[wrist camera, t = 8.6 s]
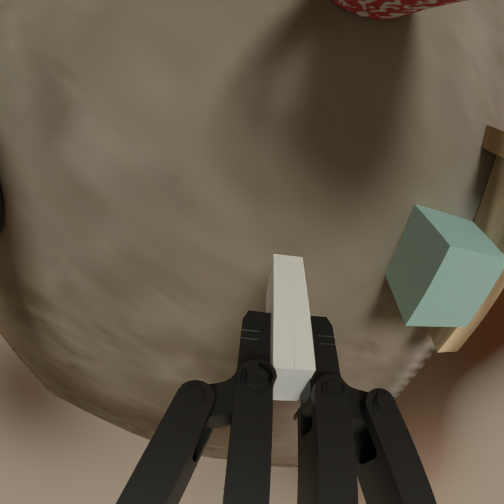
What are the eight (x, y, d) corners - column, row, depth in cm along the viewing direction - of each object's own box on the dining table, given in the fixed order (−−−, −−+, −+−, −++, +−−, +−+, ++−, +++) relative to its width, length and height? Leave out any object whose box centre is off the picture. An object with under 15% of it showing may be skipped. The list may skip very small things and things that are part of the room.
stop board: (408, 314, 24) (422, 352, 20) (487, 125, 13) (527, 142, 9) (441, 316, 24) (456, 351, 20) (518, 146, 13) (555, 167, 9)
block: (384, 274, 22) (404, 325, 17) (413, 203, 18) (450, 245, 13) (441, 282, 22) (465, 326, 17) (471, 220, 18) (508, 260, 13)
